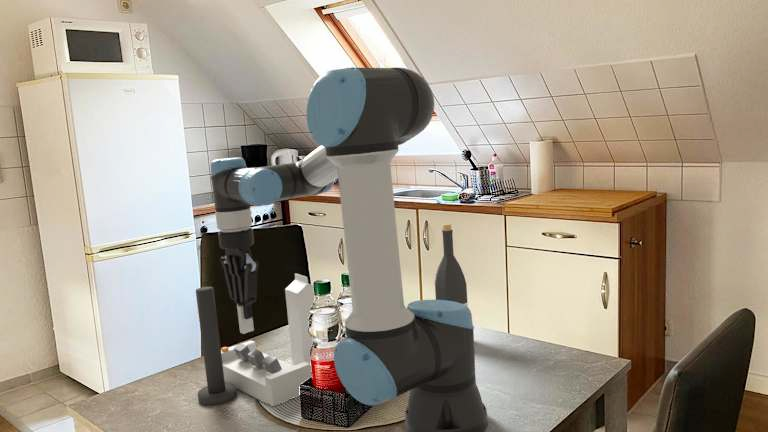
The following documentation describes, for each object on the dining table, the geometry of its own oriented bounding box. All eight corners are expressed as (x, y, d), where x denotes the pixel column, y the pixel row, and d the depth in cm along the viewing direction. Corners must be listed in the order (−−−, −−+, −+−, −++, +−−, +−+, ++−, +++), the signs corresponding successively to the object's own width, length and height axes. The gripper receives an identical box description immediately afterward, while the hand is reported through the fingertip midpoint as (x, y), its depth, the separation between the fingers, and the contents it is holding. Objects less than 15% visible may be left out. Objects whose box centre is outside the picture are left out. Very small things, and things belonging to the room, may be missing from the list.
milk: (305, 372, 147) (295, 280, 144) (292, 365, 152) (282, 275, 148) (327, 365, 151) (318, 274, 147) (314, 358, 156) (305, 270, 152)
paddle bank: (287, 373, 136) (280, 359, 135) (280, 379, 135) (273, 365, 134) (243, 354, 149) (237, 341, 148) (236, 359, 148) (230, 346, 147)
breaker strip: (312, 390, 137) (309, 361, 136) (273, 407, 131) (270, 376, 130) (253, 363, 155) (250, 337, 154) (216, 377, 148) (212, 350, 147)
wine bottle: (433, 347, 157) (425, 227, 152) (443, 336, 164) (436, 221, 159) (465, 350, 153) (458, 227, 149) (474, 338, 161) (467, 221, 156)
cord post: (243, 395, 137) (231, 287, 133) (209, 409, 132) (195, 296, 128) (225, 385, 143) (212, 281, 139) (191, 398, 138) (177, 290, 134)
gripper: (266, 228, 138) (277, 332, 142) (235, 223, 148) (246, 321, 151) (235, 234, 133) (247, 342, 137) (205, 229, 143) (217, 330, 146)
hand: (247, 331), depth 144 cm, fingers closed
